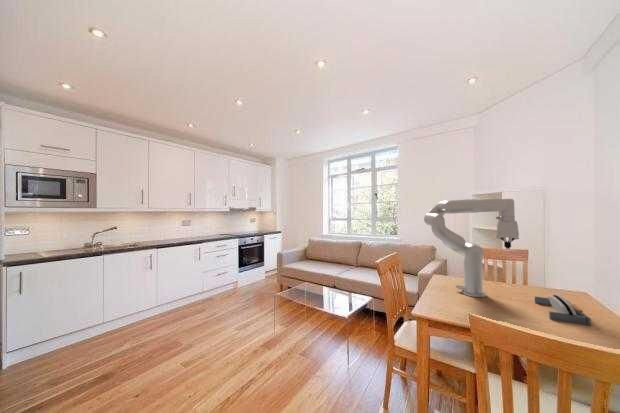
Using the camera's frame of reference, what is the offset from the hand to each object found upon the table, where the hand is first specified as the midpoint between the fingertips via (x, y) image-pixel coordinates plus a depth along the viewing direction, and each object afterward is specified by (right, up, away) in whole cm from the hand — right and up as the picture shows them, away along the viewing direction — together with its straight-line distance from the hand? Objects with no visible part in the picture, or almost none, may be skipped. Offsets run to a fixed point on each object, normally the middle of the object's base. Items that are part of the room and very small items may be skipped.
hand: (507, 248), depth 143 cm
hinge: (+4, -28, -28) cm, 40 cm away
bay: (+4, -28, -26) cm, 38 cm away
